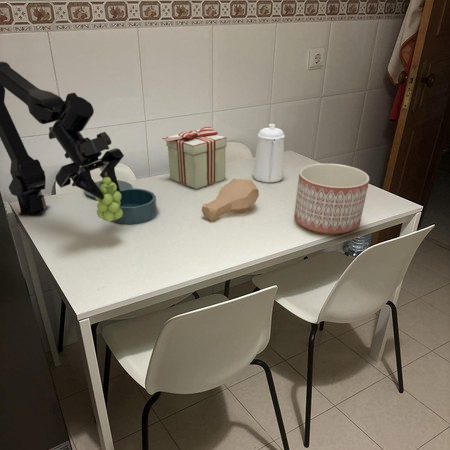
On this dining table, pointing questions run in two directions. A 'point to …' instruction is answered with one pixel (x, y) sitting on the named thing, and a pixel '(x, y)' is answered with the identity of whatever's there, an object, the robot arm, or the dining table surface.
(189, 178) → the gift box
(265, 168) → the coffeepot
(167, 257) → the dining table surface
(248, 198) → the squash
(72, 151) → the robot arm
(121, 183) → the lid
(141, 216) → the teal round bowl
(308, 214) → the planter
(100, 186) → the grapes
